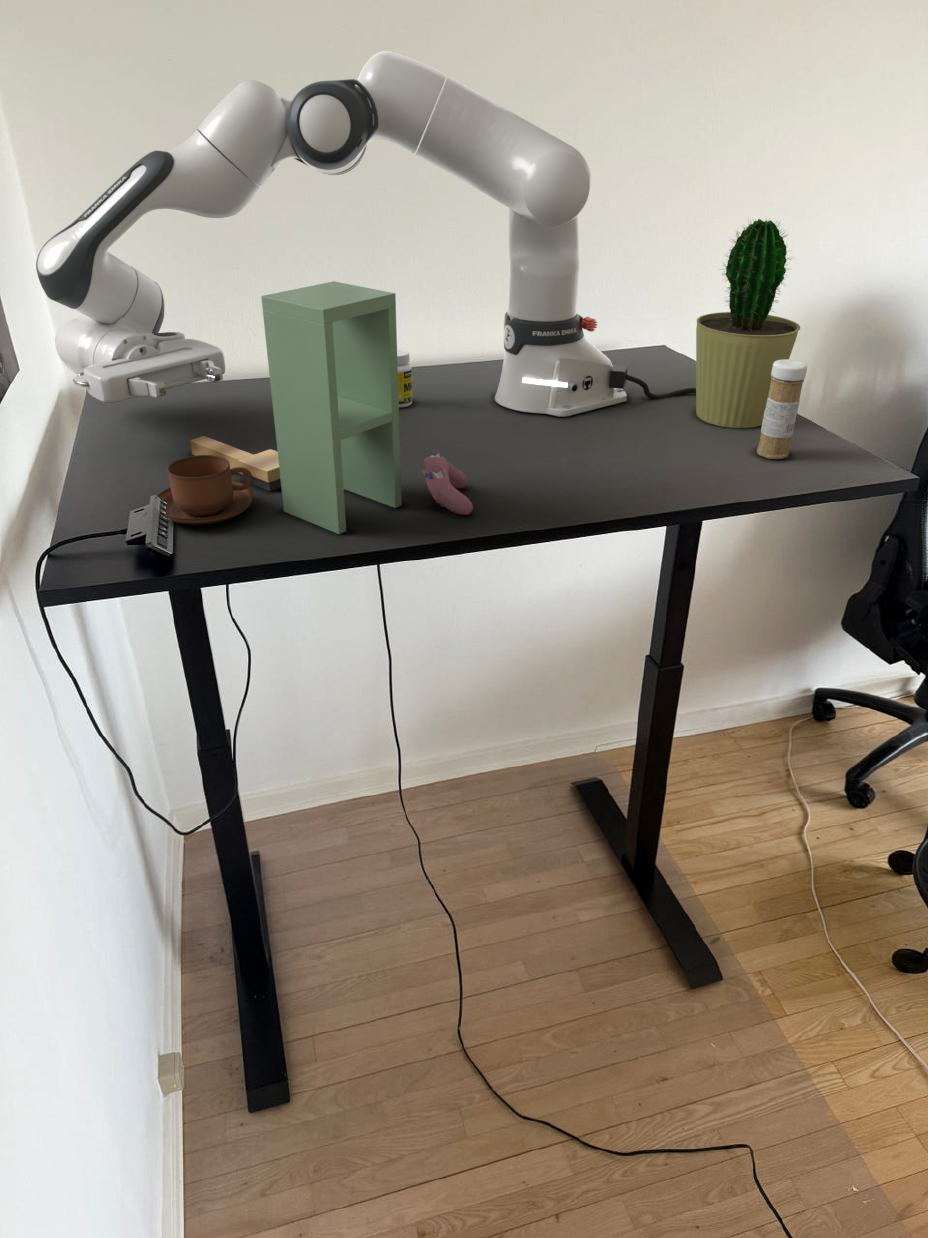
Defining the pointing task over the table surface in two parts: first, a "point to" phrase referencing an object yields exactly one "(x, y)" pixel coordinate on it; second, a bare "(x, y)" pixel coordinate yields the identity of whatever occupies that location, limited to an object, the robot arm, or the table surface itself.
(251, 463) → the desk brush
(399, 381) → the supplement bottle
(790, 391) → the sprinkles bottle
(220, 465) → the cup and saucer
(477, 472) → the table surface
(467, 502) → the video game controller
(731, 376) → the potted cactus
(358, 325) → the sage stand
